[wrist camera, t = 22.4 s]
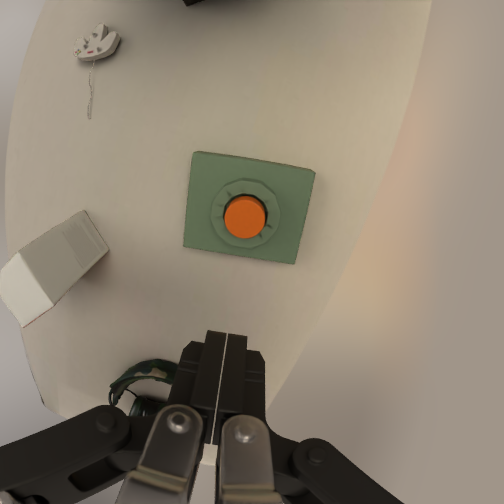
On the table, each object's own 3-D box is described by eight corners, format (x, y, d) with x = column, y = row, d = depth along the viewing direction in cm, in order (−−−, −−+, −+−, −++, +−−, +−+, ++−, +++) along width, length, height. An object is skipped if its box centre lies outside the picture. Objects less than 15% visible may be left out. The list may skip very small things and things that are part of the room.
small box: (75, 275, 35) (22, 329, 23) (51, 237, 33) (-10, 282, 21) (111, 249, 33) (54, 307, 21) (85, 207, 31) (16, 249, 19)
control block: (311, 169, 29) (319, 175, 25) (292, 256, 33) (296, 272, 29) (197, 150, 28) (188, 153, 25) (187, 239, 32) (178, 253, 29)
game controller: (120, 18, 22) (110, 12, 19) (132, 102, 26) (121, 101, 24) (80, 37, 22) (68, 33, 20) (90, 119, 27) (78, 119, 24)
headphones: (202, 454, 43) (222, 383, 38) (141, 480, 33) (138, 412, 28) (163, 410, 51) (172, 334, 46) (106, 427, 42) (99, 348, 37)
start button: (267, 199, 27) (268, 203, 25) (261, 235, 28) (261, 241, 26) (229, 193, 26) (227, 197, 25) (224, 229, 28) (221, 235, 26)
